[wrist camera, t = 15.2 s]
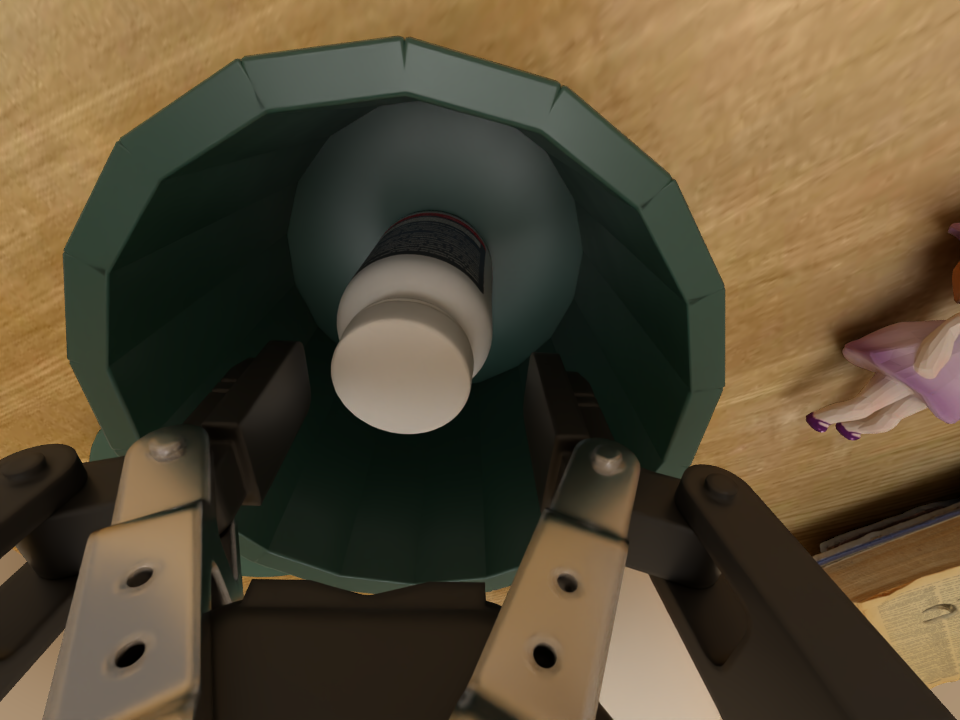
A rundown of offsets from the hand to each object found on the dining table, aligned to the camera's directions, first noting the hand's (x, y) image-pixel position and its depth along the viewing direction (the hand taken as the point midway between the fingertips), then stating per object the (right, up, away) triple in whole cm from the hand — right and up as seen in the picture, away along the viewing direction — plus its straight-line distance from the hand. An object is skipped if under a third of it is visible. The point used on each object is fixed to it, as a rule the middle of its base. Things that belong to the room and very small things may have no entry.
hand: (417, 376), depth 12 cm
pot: (0, +5, +8) cm, 10 cm away
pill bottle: (0, +5, +8) cm, 9 cm away
